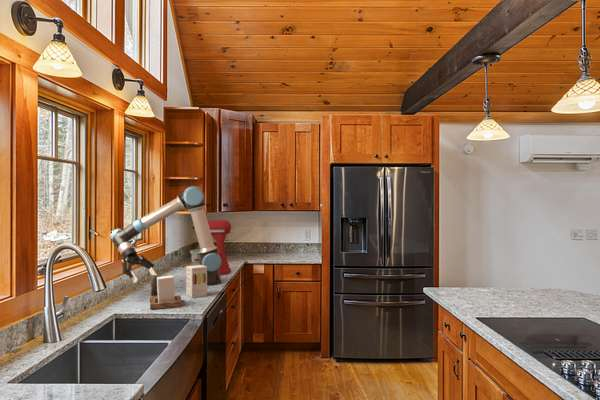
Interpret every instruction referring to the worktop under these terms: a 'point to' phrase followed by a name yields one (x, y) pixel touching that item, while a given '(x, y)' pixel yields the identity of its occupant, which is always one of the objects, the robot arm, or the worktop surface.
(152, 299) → the brown wooden frame
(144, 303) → the worktop surface
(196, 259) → the stand mixer
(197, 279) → the supplement box
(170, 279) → the skincare box
